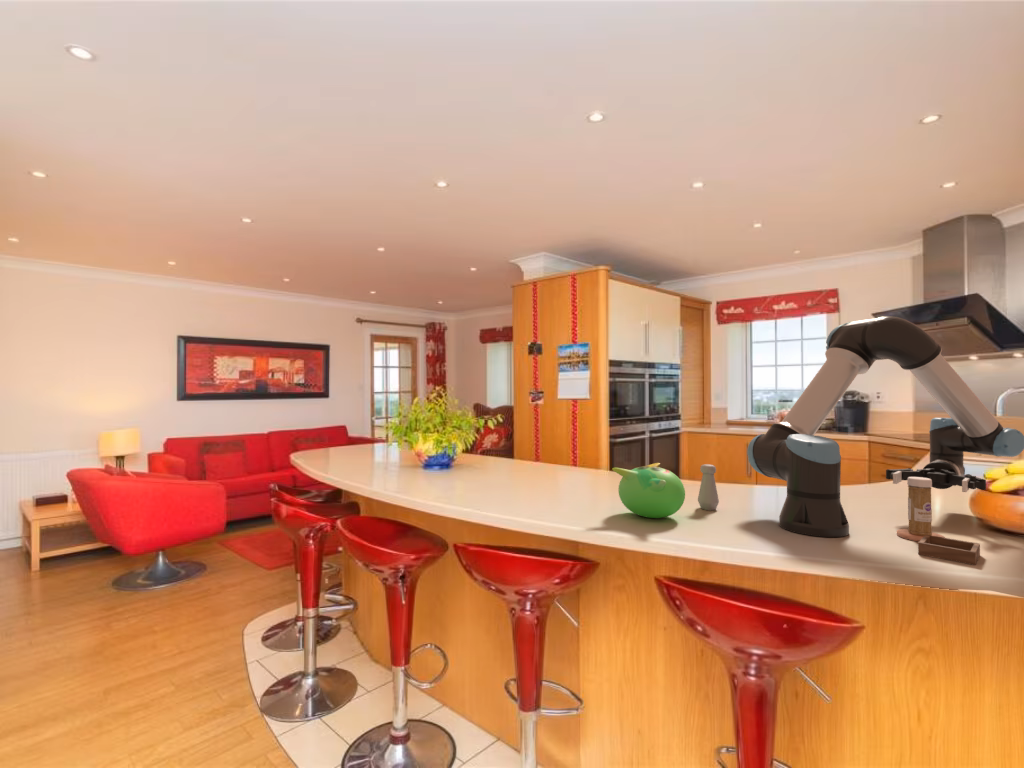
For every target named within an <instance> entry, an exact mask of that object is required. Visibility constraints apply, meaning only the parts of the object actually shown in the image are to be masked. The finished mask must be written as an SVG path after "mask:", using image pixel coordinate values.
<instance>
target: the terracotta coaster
mask: <svg viewBox="0 0 1024 768" xmlns="http://www.w3.org/2000/svg"><path fill="white" fill-rule="evenodd" d="M908 529H909V528H902V529H901V528H900V529H897V530H896V535H897V536H898V537H899V536H900V538H902V539H904V538H905V540H908V539H909V541H912V540H913V542H917V543H918V542H919V541H920V540H921V539H922V538H923V537H924V536H918V535H914V534H911V533H909V532H908ZM931 536H937V537H943V538H946V536H944V535H942V534H938V533H936V532H932V535H931Z"/></svg>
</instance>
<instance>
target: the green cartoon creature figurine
mask: <svg viewBox="0 0 1024 768" xmlns="http://www.w3.org/2000/svg"><path fill="white" fill-rule="evenodd" d="M660 465H661V463H660V462H655V463H652V464H651V463H650V464H648V465H643V466H639V467H634V468H633V469H627V468H626V469H625V468H621V467H612V469H611V470H612V471H613V472H614V473H616V474H618V475H619V476H621V479H620V481H619V482H618V483H619V484H618V496H619V499H620V501H621V503H622V504H623V506H624V507H625V508H626V509H627V510H629V511H630V512H632V513H633V514H635V515H637V516H641V517H643V518H648V519H661V518H666V517H669V516H672V515H674V514H676V513H677V512H678V511H679V510H680V509H681V508H682V507H683V505H684V502H685V499H686V490H685V486H684V484H683V482H682V480H681V479H680V478H679V476H677V475H676V474H675V473H674V472H672V471H671V470H669V469H666V468H662V467H660Z"/></svg>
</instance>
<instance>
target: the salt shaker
mask: <svg viewBox="0 0 1024 768" xmlns="http://www.w3.org/2000/svg"><path fill="white" fill-rule="evenodd" d="M699 469H700V472H701V473H702V476H701V481H700V485H699V490H698V491H699V492H698V497H697V502H698V504H699V506H700V509H701V510H705V511H715V510H717V507H718V505H719V502H720V500H719V499H720V498H719V494H718V490H717V484H716V478H715V473H716V472H717V468H716V466H715V465H713V464H709V463H706V464H701V465H700V468H699Z"/></svg>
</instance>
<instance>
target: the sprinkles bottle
mask: <svg viewBox="0 0 1024 768" xmlns="http://www.w3.org/2000/svg"><path fill="white" fill-rule="evenodd" d="M906 482H907V487H908V493H907V494H908V497H907V509H908V510H907V512H908V513H907V514H908V515H907V519H908V528H907V529H908V532H909V533H911V534H914V535H918V536H925V535H932V533H933V532H932V520H933V519H932V518H933V516H932V515H933V514H932V510H933V509H932V488H933V487H932V480H931V479H929V478H923V477H908V480H906Z"/></svg>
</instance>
